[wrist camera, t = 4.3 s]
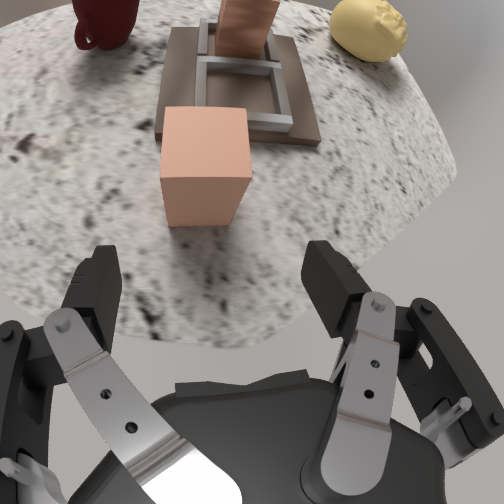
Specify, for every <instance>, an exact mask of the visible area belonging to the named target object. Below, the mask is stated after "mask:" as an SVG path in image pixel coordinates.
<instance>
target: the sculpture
mask: <svg viewBox="0 0 504 504" xmlns="http://www.w3.org/2000/svg"><path fill="white" fill-rule="evenodd" d="M329 26H330V32H331V35H332V36H333V38H334V39H335V40H336V41H337V42H338V43H339V44H340V45H341V46H342V47H343V48H344V49H346V50H347V51H348V52H350V53H351V54H352V55H354V56H356V57H357V58H359V59H361V60H364V61H368V62H377V61H378V62H385V61H387V60H389V59H390V58H391V57H396V56H397V53H399V52H401V51H402V50H403V49H404V44H405V43H407V38H408V36H407V34H406V33H405V32H406V29H407V24H406V23H405V21H404V20H403V16H402V15H401V14H400V13H399V12H398V11H396V10H395V9H394V8H393V7H392V6H391V5H390V4H389V3H388V2H387V1H380V0H343V1H341V2H340V3H339V4H338V5H337V6H336V7H335V9H334V10H333V12H332V14H331V17H330V23H329Z"/></svg>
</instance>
